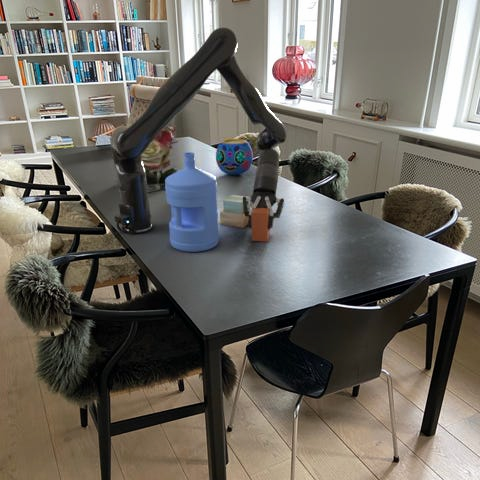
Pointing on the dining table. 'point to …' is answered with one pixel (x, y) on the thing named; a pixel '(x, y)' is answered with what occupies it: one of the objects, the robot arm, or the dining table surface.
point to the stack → (234, 212)
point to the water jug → (192, 208)
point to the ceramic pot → (234, 156)
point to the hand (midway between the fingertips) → (259, 228)
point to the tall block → (260, 224)
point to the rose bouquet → (159, 159)
